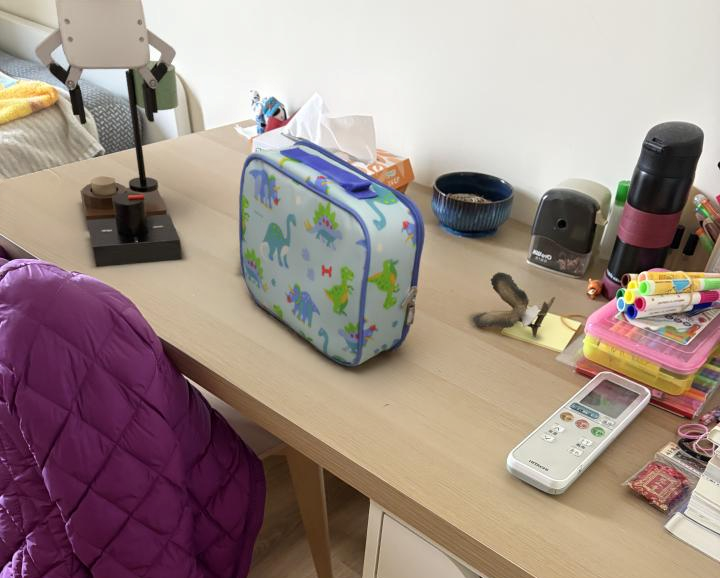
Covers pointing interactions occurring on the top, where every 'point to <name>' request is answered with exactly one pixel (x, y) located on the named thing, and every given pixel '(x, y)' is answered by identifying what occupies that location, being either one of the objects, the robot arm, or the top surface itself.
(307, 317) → the lunch box
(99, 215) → the lamp base
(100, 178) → the lamp button
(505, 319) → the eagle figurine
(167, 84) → the desk lamp
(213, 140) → the top surface
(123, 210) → the dimmer knob
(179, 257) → the dimmer plate
